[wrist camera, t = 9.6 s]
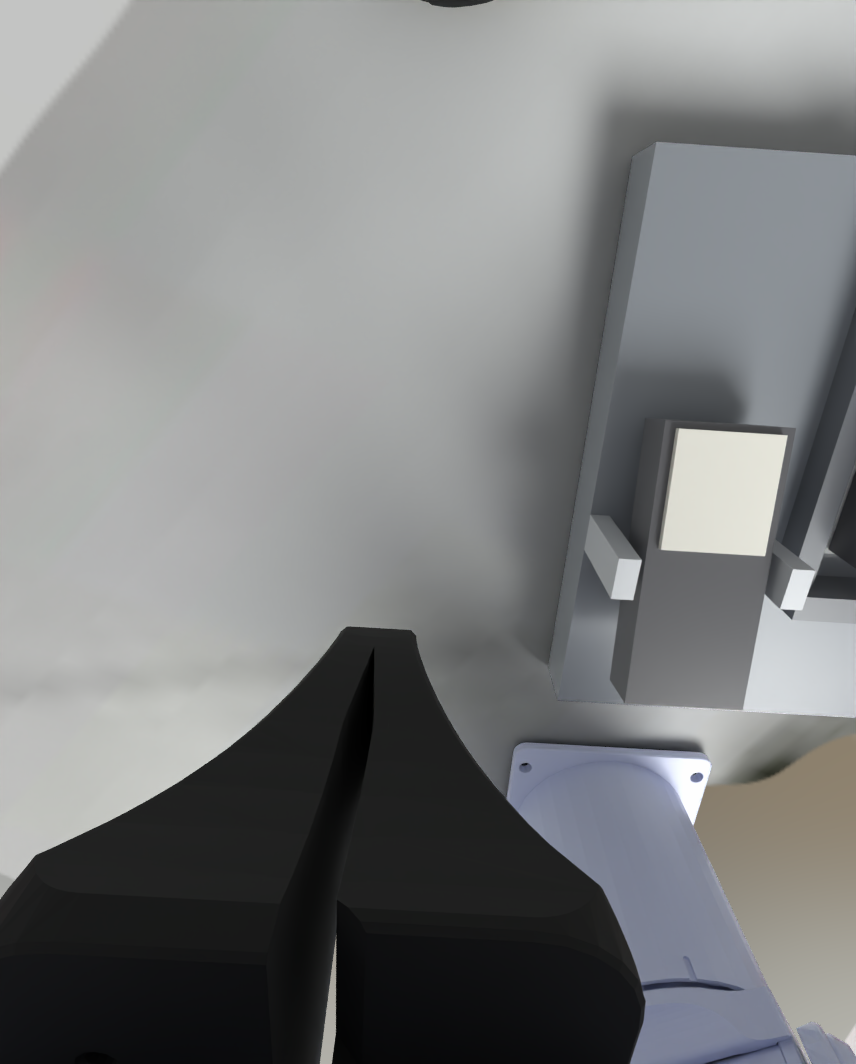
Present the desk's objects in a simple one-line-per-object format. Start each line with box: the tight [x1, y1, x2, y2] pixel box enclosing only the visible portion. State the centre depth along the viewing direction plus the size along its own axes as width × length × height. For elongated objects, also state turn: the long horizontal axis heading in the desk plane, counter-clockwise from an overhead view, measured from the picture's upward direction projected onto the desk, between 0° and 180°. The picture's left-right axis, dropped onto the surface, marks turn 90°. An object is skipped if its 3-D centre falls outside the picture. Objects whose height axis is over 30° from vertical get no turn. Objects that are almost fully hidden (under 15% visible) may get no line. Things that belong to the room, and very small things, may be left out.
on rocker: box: [610, 418, 796, 710], centre depth 17 cm, size 8×3×2 cm, turn 176°
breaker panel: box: [548, 142, 856, 718], centre depth 18 cm, size 17×13×5 cm
